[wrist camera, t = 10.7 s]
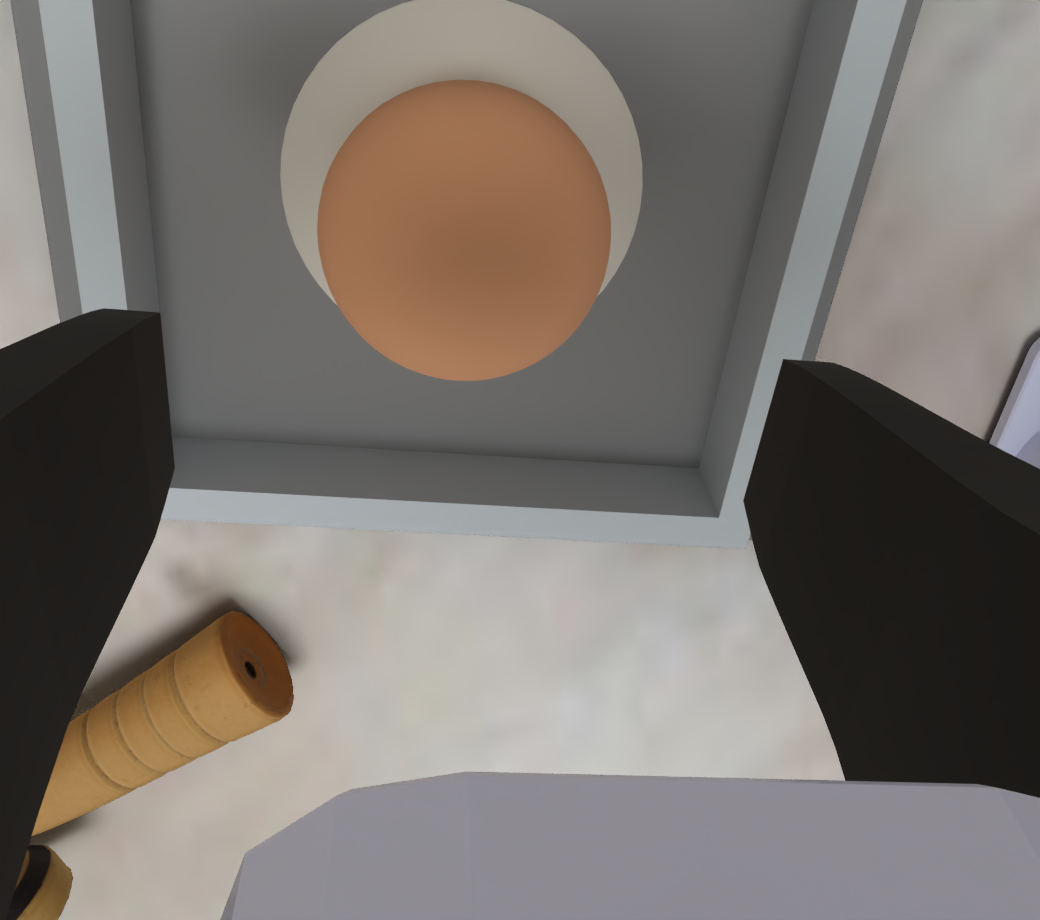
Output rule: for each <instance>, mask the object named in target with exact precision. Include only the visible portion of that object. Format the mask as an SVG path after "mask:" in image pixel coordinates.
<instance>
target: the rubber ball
mask: <svg viewBox="0 0 1040 920" xmlns="http://www.w3.org/2000/svg"><path fill="white" fill-rule="evenodd" d="M317 237H318V249H319V254H320V259H321V264H322V268H323V272H324V275H325V278H326V281H327V284H328V286H329V289H330V291H331V293H332V295H333V297H334V299H335V301H336V303H337V305H338V307H339V309H340V310H341V311H342V313H343V314H344V316H345V317H346V319H347V320H348V322H349V323H350V324H351V325H352V327H353V328H354V329H355V330H356V331H357V332H358V333H359V335H360V336H361V337H362V338H363V339H364V340H365V341H366V342H367V343H369V344H370V345H371V346H372V347H373V348H374V349H375V350H377V351H378V352H380V353H381V354H382V355H384V356H385V357H387V358H388V359H390V360H391V361H393V362H395V363H397V364H399V365H401V366H403V367H405V368H407V369H410V370H412V371H415V372H418V373H420V374H423V375H427V376H431V377H435V378H439V379H446V380H454V381H478V380H487V379H493V378H497V377H502V376H506V375H508V374H511V373H514V372H517V371H520V370H522V369H525V368H527V367H529V366H531V365H533V364H535V363H537V362H538V361H540V360H542V359H543V358H545V357H546V356H548V355H549V354H551V353H552V352H553V351H555V350H556V349H557V348H558V347H559V346H560V345H562V344H563V343H564V342H565V341H566V340H567V339H568V338H569V337H570V336H571V335H572V334H573V332H574V331H575V330H576V329H577V328H578V327H579V325H580V324H581V322H582V321H583V319H584V318H585V317H586V315H587V314H588V312H589V311H590V309H591V307H592V305H593V303H594V301H595V300H596V298H597V296H598V294H599V291H600V288H601V286H602V283H603V280H604V277H605V273H606V269H607V265H608V260H609V254H610V243H611V217H610V211H609V206H608V200H607V195H606V192H605V188H604V185H603V182H602V179H601V176H600V173H599V171H598V169H597V167H596V165H595V163H594V161H593V159H592V157H591V155H590V154H589V152H588V150H587V149H586V147H585V146H584V144H583V143H582V141H581V140H580V139H579V138H578V136H577V135H576V134H575V133H574V132H573V131H572V129H571V128H570V127H569V126H568V125H567V124H566V123H565V122H564V121H563V120H562V119H561V118H560V117H559V116H558V115H556V114H555V113H554V112H553V111H552V110H551V109H549V108H548V107H546V106H545V105H543V104H542V103H540V102H539V101H537V100H536V99H534V98H532V97H530V96H528V95H526V94H524V93H522V92H519V91H517V90H515V89H512V88H509V87H505V86H502V85H499V84H495V83H490V82H484V81H478V80H449V81H440V82H434V83H430V84H426V85H422V86H418V87H416V88H413V89H411V90H408V91H406V92H403V93H401V94H398V95H397V96H395V97H393V98H392V99H390V100H388V101H386V102H385V103H383V104H381V105H380V106H379V107H378V108H376V109H375V110H374V111H372V112H371V113H370V114H369V115H367V116H366V117H365V118H364V119H363V120H362V121H361V122H360V123H359V124H358V125H357V127H356V128H355V129H354V130H353V131H352V132H351V134H350V135H349V136H348V138H347V139H346V141H345V142H344V143H343V145H342V146H341V148H340V149H339V150H338V152H337V154H336V156H335V158H334V160H333V162H332V164H331V166H330V168H329V171H328V173H327V176H326V179H325V182H324V184H323V189H322V193H321V198H320V203H319V209H318V222H317Z"/></svg>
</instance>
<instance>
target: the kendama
mask: <svg viewBox="0 0 1040 920" xmlns="http://www.w3.org/2000/svg"><path fill="white" fill-rule="evenodd" d="M293 699H294V695H293V686H292V679H291V676H290V672H289V669H288V666H287V664H286V662H285V660H284V657H283V655H282V653H281V652H280V650H279V648H278V646H277V644H276V643H275V642H274V640H273V639H272V638H271V637H270V635H269V634H268V633H267V632H266V631H265V630H264V629H263V628H262V627H261V626H260V625H259V624H258V623H257V622H256V621H255V620H254V619H252V618H250V617H249V616H247V615H245V614H243V613H241V612H236V611H233V612H228V613H226V614H225V615H223V616H221V617H220V618H218V619H217V620H215V621H214V622H213V623H212V624H210V625H209V626H208V627H206V628H204V629H203V630H202V631H201V632H199V633H198V634H197V635H195V636H194V637H192V638H191V639H190V640H188V641H187V642H186V643H184V644H183V645H182V646H181V647H180V648H179V649H176V650H174V651H173V652H171V653H170V654H169V655H167V656H166V657H164V658H163V659H162V660H160V661H159V662H158V663H156V664H155V665H154V666H152V667H151V668H150V669H148V670H146V671H145V672H143V673H142V674H140V675H139V676H137V677H136V678H134V679H133V680H131V681H130V682H128V683H127V684H126V685H125V686H124V687H123V688H121V689H119V690H117V691H115V692H114V693H112V694H111V695H109V696H108V697H106V698H105V699H103V700H102V701H100V702H99V703H98V704H97V705H95V706H94V707H93V708H91V709H89V710H87V711H86V712H84V713H82V714H81V715H79V716H78V717H76V718H75V719H73V720H72V721H70V722H69V725H68V727H67V730H66V733H65V736H64V739H63V742H62V745H61V748H60V751H59V754H58V757H57V760H56V763H55V766H54V769H53V772H52V775H51V778H50V781H49V784H48V786H47V789H46V792H45V795H44V798H43V801H42V804H41V807H40V810H39V814H38V817H37V820H36V823H35V827H34V830H33V833H32V836H34V835H36V834H39V833H42V832H44V831H47V830H49V829H52V828H54V827H57V826H59V825H61V824H63V823H66V822H68V821H70V820H73V819H75V818H77V817H79V816H82V815H84V814H86V813H88V812H91V811H93V810H95V809H97V808H99V807H101V806H103V805H105V804H107V803H109V802H111V801H113V800H115V799H117V798H119V797H121V796H123V795H125V794H127V793H129V792H131V791H133V790H135V789H136V788H137V787H141V786H143V785H145V784H147V783H149V782H151V781H153V780H155V779H157V778H159V777H161V776H163V775H164V774H166V773H168V772H169V771H172V770H175V769H177V768H179V767H181V766H183V765H185V764H187V763H189V762H191V761H193V760H195V759H196V758H198V757H201V756H203V755H205V754H208V753H210V752H212V751H214V750H216V749H218V748H220V747H222V746H224V745H225V744H227V743H228V742H230V741H236V740H237V739H239V738H241V737H244V736H246V735H249V734H251V733H253V732H255V731H257V730H259V729H262V728H264V727H266V726H268V725H270V724H273V723H275V722H277V721H279V720H281V719H282V718H283V717H284V716H286V715H287V714H289V712H290V711H291V707H292V705H293ZM32 836H31V837H32ZM72 880H73V876H72V872H71V869H70V868H69V867H67V866H66V864H65V863H64V862H63V861H62V860H61V859H60V858H59V856H58V855H57V854H56V853H55V852H54V851H53V850H52V849H51V848H49V847H48V846H44V845H31V846H28V849H27V852H26V855H25V859H24V862H23V865H22V868H21V872H20V875H19V878H18V881H17V884H16V888H15V891H14V894H13V897H12V901H11V904H10V908H9V911H8V915H7V918H6V920H58V918H59V917H60V915H61V913H62V911H63V909H64V907H65V904H66V902H67V900H68V898H69V894H70V890H71V886H72Z"/></svg>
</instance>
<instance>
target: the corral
mask: <svg viewBox="0 0 1040 920" xmlns="http://www.w3.org/2000/svg"><path fill="white" fill-rule="evenodd" d="M922 2H923V0H11V7H12V13H13V20H14V26H15V33H16V39H17V46H18V52H19V59H20V65H21V72H22V78H23V85H24V91H25V97H26V104H27V110H28V117H29V123H30V130H31V136H32V143H33V149H34V156H35V162H36V169H37V175H38V182H39V188H40V195H41V201H42V208H43V214H44V220H45V227H46V233H47V240H48V246H49V253H50V259H51V266H52V272H53V279H54V285H55V292H56V298H57V305H58V311H59V318H60V323H61V322H64V321H66V320H69V319H71V318H74V317H76V316H79V315H82V314H85V313H88V312H91V311H95V310H99V309H103V308H106V309H120V310H133V311H147V312H160V315H161V326H162V336H163V347H164V357H165V368H166V379H167V389H168V400H169V410H170V421H171V432H172V442H173V453H174V463H175V470H174V473H173V477H172V481H171V484H170V488H169V491H168V495H167V499H166V502H165V506H164V509H163V513H162V516H161V519H167V520H186V521H206V522H226V523H245V524H265V525H284V526H304V527H324V528H343V529H363V530H383V531H402V532H422V533H442V534H461V535H481V536H501V537H520V538H540V539H559V540H579V541H599V542H618V543H638V544H658V545H677V546H697V547H717V548H736V549H746V547H747V543H748V540H752V537H751V533H750V528H749V524H748V519H747V515H746V511H745V506H744V502H743V500H744V496H745V493H746V489H747V485H748V482H749V478H750V475H751V471H752V468H753V464H754V461H755V457H756V453H757V450H758V446H759V443H760V439H761V436H762V432H763V429H764V425H765V421H766V418H767V414H768V411H769V407H770V404H771V400H772V397H773V393H774V390H775V386H776V382H777V379H778V375H779V372H780V368H781V365H782V361H783V359H789V360H803V361H814V360H815V357H816V354H817V350H818V347H819V344H820V340H821V337H822V334H823V330H824V327H825V324H826V320H827V317H828V314H829V310H830V307H831V304H832V300H833V297H834V294H835V290H836V287H837V284H838V281H839V277H840V274H841V271H842V267H843V264H844V261H845V257H846V254H847V251H848V247H849V244H850V241H851V237H852V234H853V231H854V227H855V224H856V221H857V217H858V214H859V211H860V207H861V204H862V201H863V198H864V194H865V191H866V188H867V184H868V181H869V178H870V174H871V171H872V168H873V164H874V161H875V158H876V154H877V151H878V148H879V144H880V141H881V138H882V134H883V131H884V128H885V124H886V121H887V118H888V115H889V111H890V108H891V105H892V101H893V98H894V95H895V91H896V88H897V85H898V81H899V78H900V75H901V71H902V68H903V65H904V61H905V58H906V55H907V51H908V48H909V45H910V41H911V38H912V35H913V32H914V28H915V25H916V22H917V18H918V15H919V12H920V8H921V5H922ZM449 80H478V81H484V82H490V83H495V84H499V85H502V86H505V87H509V88H512V89H515V90H517V91H519V92H522V93H524V94H526V95H528V96H530V97H532V98H534V99H536V100H537V101H539V102H540V103H542V104H543V105H545V106H546V107H548V108H549V109H551V110H552V111H553V112H554V113H555V114H556V115H558V116H559V117H560V118H561V119H562V120H563V121H564V122H565V123H566V124H567V125H568V126H569V127H570V128H571V129H572V131H573V132H574V133H575V134H576V135H577V136H578V138H579V139H580V140H581V141H582V143H583V144H584V146H585V147H586V149H587V150H588V152H589V154H590V155H591V157H592V159H593V161H594V163H595V165H596V167H597V169H598V171H599V173H600V176H601V179H602V182H603V185H604V188H605V192H606V195H607V200H608V206H609V211H610V217H611V243H610V254H609V260H608V265H607V269H606V273H605V277H604V280H603V283H602V286H601V288H600V291H599V294H598V296H597V298H596V300H595V301H594V303H593V305H592V307H591V309H590V311H589V312H588V314H587V315H586V317H585V318H584V319H583V321H582V322H581V324H580V325H579V327H578V328H577V329H576V330H575V331H574V332H573V334H572V335H571V336H570V337H569V338H568V339H567V340H566V341H565V342H564V343H563V344H562V345H560V346H559V347H558V348H557V349H556V350H555V351H553V352H552V353H551V354H549V355H548V356H546V357H545V358H543V359H542V360H540V361H538V362H537V363H535V364H533V365H531V366H529V367H527V368H525V369H522V370H520V371H517V372H514V373H511V374H508V375H506V376H502V377H497V378H493V379H487V380H478V381H454V380H446V379H439V378H435V377H431V376H427V375H423V374H420V373H418V372H415V371H412V370H410V369H407V368H405V367H403V366H401V365H399V364H397V363H395V362H393V361H391V360H390V359H388V358H387V357H385V356H384V355H382V354H381V353H380V352H378V351H377V350H375V349H374V348H373V347H372V346H371V345H370V344H369V343H367V342H366V341H365V340H364V339H363V338H362V337H361V336H360V335H359V333H358V332H357V331H356V330H355V329H354V328H353V327H352V325H351V324H350V323H349V322H348V320H347V319H346V317H345V316H344V314H343V313H342V311H341V310H340V309H339V307H338V305H337V303H336V301H335V299H334V297H333V295H332V293H331V291H330V289H329V286H328V284H327V281H326V278H325V275H324V272H323V268H322V264H321V259H320V254H319V249H318V237H317V222H318V209H319V203H320V198H321V193H322V189H323V184H324V182H325V179H326V176H327V173H328V171H329V168H330V166H331V164H332V162H333V160H334V158H335V156H336V154H337V152H338V150H339V149H340V148H341V146H342V145H343V143H344V142H345V141H346V139H347V138H348V136H349V135H350V134H351V132H352V131H353V130H354V129H355V128H356V127H357V125H358V124H359V123H360V122H361V121H362V120H363V119H364V118H365V117H366V116H367V115H369V114H370V113H371V112H372V111H374V110H375V109H376V108H378V107H379V106H380V105H381V104H383V103H385V102H386V101H388V100H390V99H392V98H393V97H395V96H397V95H398V94H401V93H403V92H406V91H408V90H411V89H413V88H416V87H418V86H422V85H426V84H430V83H434V82H440V81H449Z"/></svg>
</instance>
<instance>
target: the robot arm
mask: <svg viewBox="0 0 1040 920" xmlns="http://www.w3.org/2000/svg"><path fill="white" fill-rule="evenodd" d="M174 470H175V463H174V453H173V442H172V432H171V421H170V410H169V400H168V389H167V379H166V368H165V357H164V347H163V336H162V326H161V315H160V312H147V311H133V310H120V309H106V308H103V309H99V310H95V311H91V312H88V313H85V314H82V315H79V316H76V317H74V318H71V319H69V320H66V321H64V322H61V323H59V324H57V325H54V326H52V327H50V328H47V329H45V330H43V331H41V332H38V333H36V334H34V335H32V336H29V337H27V338H25V339H23V340H20V341H18V342H16V343H13V344H11V345H9V346H7V347H4V348H2V349H0V920H6V918H7V915H8V911H9V908H10V904H11V901H12V897H13V894H14V891H15V888H16V884H17V881H18V878H19V875H20V872H21V868H22V865H23V862H24V859H25V855H26V852H27V849H28V846H29V843H30V839H31V836H32V833H33V830H34V827H35V823H36V820H37V817H38V814H39V810H40V807H41V804H42V801H43V798H44V795H45V792H46V789H47V786H48V784H49V781H50V778H51V775H52V772H53V769H54V766H55V763H56V760H57V757H58V754H59V751H60V748H61V745H62V742H63V739H64V736H65V733H66V730H67V727H68V725H69V722H70V720H71V717H72V715H73V713H74V710H75V708H76V705H77V703H78V701H79V698H80V696H81V693H82V691H83V689H84V687H85V685H86V682H87V680H88V678H89V676H90V674H91V672H92V670H93V668H94V666H95V664H96V661H97V659H98V657H99V655H100V653H101V651H102V649H103V647H104V645H105V643H106V641H107V638H108V636H109V634H110V632H111V630H112V628H113V626H114V624H115V622H116V620H117V617H118V615H119V613H120V611H121V609H122V607H123V605H124V603H125V601H126V599H127V597H128V594H129V592H130V590H131V588H132V586H133V584H134V582H135V580H136V577H137V575H138V573H139V571H140V569H141V567H142V564H143V562H144V560H145V558H146V556H147V554H148V551H149V549H150V547H151V545H152V543H153V540H154V538H155V535H156V532H157V529H158V526H159V522H160V519H161V516H162V513H163V509H164V506H165V502H166V499H167V495H168V491H169V488H170V484H171V481H172V477H173V473H174ZM743 502H744V506H745V511H746V515H747V519H748V524H749V528H750V533H751V537H752V541H753V544H754V548H755V552H756V555H757V559H758V563H759V566H760V569H761V572H762V574H763V576H764V579H765V581H766V584H767V586H768V589H769V591H770V593H771V596H772V598H773V601H774V603H775V605H776V608H777V610H778V612H779V615H780V617H781V619H782V622H783V624H784V626H785V629H786V631H787V633H788V635H789V638H790V640H791V642H792V645H793V647H794V649H795V651H796V654H797V656H798V658H799V661H800V663H801V665H802V668H803V670H804V672H805V674H806V677H807V679H808V681H809V684H810V686H811V688H812V690H813V693H814V695H815V697H816V700H817V702H818V704H819V707H820V709H821V711H822V713H823V716H824V719H825V721H826V724H827V727H828V729H829V732H830V734H831V737H832V740H833V742H834V745H835V748H836V751H837V754H838V757H839V761H840V764H841V767H842V771H843V774H844V777H845V781H830V780H788V779H747V778H706V777H665V776H624V775H582V774H541V773H500V772H461V773H454V774H448V775H441V776H435V777H428V778H422V779H415V780H409V781H402V782H396V783H389V784H383V785H376V786H370V787H363V788H357V789H352V790H349V791H347V792H344V793H342V794H339V795H337V796H336V797H334V798H332V799H331V800H329V801H328V802H326V803H324V804H323V805H321V806H320V807H318V808H316V809H315V810H313V811H312V812H310V813H308V814H307V815H305V816H304V817H302V818H300V819H299V820H297V821H296V822H294V823H292V824H291V825H289V826H288V827H286V828H284V829H283V830H281V831H280V832H278V833H276V834H275V835H273V836H272V837H270V838H268V839H267V840H265V841H264V842H262V843H261V844H259V845H257V846H256V847H254V848H253V849H251V850H249V851H248V852H246V853H245V855H244V858H243V861H242V863H241V866H240V869H239V871H238V874H237V877H236V879H235V882H234V885H233V887H232V890H231V893H230V896H229V898H228V901H227V904H226V906H225V909H224V912H223V914H222V917H221V920H1040V338H1039V339H1038V340H1037V341H1035V342H1034V343H1033V345H1032V346H1031V348H1030V349H1029V351H1028V354H1027V356H1026V358H1025V360H1024V363H1023V365H1022V367H1021V370H1020V372H1019V374H1018V377H1017V379H1016V381H1015V384H1014V386H1013V388H1012V391H1011V393H1010V395H1009V398H1008V400H1007V402H1006V405H1005V407H1004V409H1003V412H1002V414H1001V416H1000V419H999V421H998V423H997V426H996V428H995V430H994V433H993V435H992V437H991V440H990V442H989V443H988V442H986V441H984V440H982V439H980V438H978V437H977V436H975V435H973V434H971V433H969V432H967V431H965V430H964V429H962V428H960V427H958V426H956V425H955V424H953V423H951V422H949V421H947V420H945V419H944V418H942V417H940V416H938V415H936V414H935V413H933V412H931V411H929V410H927V409H926V408H924V407H922V406H920V405H919V404H917V403H915V402H913V401H911V400H909V399H908V398H906V397H904V396H902V395H900V394H899V393H897V392H895V391H893V390H891V389H889V388H888V387H886V386H884V385H882V384H880V383H878V382H876V381H874V380H872V379H870V378H868V377H866V376H864V375H862V374H860V373H858V372H856V371H853V370H851V369H849V368H846V367H843V366H841V365H838V364H835V363H830V362H816V361H803V360H789V359H783V361H782V365H781V368H780V372H779V375H778V379H777V382H776V386H775V390H774V393H773V397H772V400H771V404H770V407H769V411H768V414H767V418H766V421H765V425H764V429H763V432H762V436H761V439H760V443H759V446H758V450H757V453H756V457H755V461H754V464H753V468H752V471H751V475H750V478H749V482H748V485H747V489H746V493H745V496H744V500H743Z"/></svg>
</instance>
